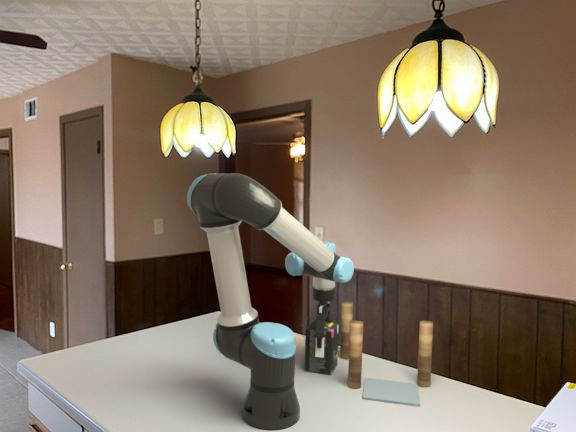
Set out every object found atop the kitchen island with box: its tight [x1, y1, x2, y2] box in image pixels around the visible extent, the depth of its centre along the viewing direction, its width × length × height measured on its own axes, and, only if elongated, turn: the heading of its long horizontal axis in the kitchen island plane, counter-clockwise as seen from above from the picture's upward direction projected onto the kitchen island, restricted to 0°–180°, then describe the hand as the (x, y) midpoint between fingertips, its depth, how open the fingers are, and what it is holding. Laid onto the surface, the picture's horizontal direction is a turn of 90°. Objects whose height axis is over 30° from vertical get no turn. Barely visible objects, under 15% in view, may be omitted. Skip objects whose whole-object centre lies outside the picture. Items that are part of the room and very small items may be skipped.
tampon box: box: [304, 319, 340, 376], centre depth 150 cm, size 11×9×15 cm
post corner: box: [347, 320, 364, 390], centre depth 136 cm, size 4×4×20 cm
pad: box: [362, 377, 421, 407], centre depth 133 cm, size 14×16×1 cm
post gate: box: [339, 301, 354, 361], centre depth 159 cm, size 4×4×20 cm
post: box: [416, 319, 434, 388], centre depth 138 cm, size 4×4×20 cm
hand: (322, 349), depth 150 cm, fingers open, 13 cm apart
